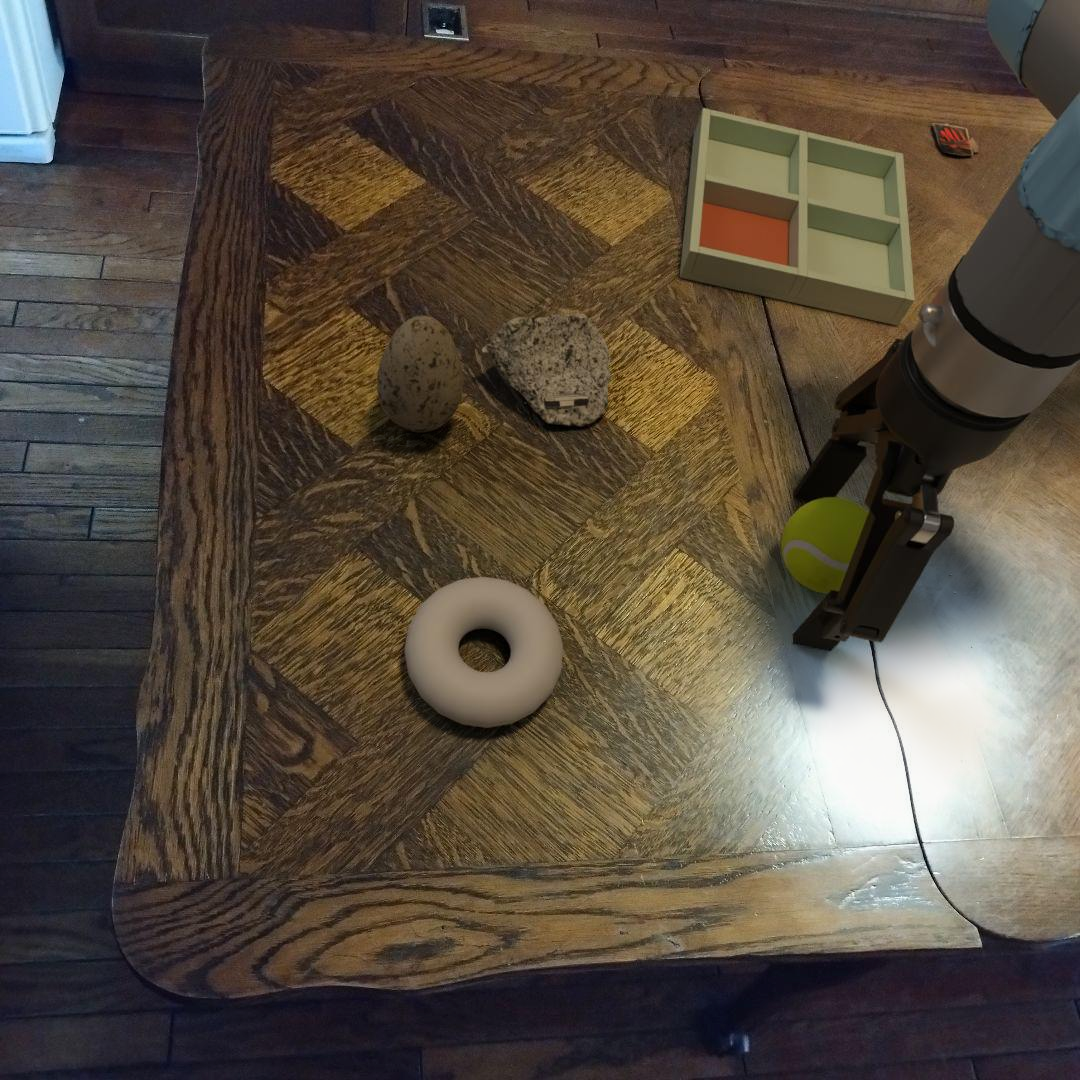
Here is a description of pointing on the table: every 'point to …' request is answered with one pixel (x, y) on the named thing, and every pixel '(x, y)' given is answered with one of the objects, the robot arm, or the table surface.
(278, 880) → the table surface
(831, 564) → the tennis ball
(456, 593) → the donut
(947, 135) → the matchbox
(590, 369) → the rock sample
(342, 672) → the table surface
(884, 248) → the grid
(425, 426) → the decorative egg
